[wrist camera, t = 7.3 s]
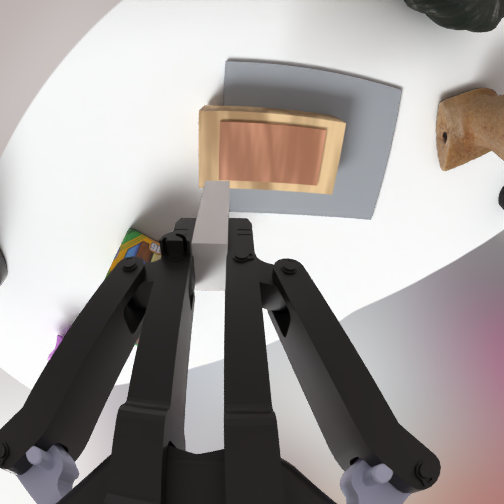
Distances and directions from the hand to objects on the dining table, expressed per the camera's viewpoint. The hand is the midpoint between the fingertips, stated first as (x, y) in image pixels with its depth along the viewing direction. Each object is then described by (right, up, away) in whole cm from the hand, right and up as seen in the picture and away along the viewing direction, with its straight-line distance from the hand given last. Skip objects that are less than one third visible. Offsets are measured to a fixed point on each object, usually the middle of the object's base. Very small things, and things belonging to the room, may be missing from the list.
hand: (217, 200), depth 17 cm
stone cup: (+31, +16, +9) cm, 36 cm away
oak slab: (-3, +8, +10) cm, 13 cm away
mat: (+9, +9, +13) cm, 18 cm away
